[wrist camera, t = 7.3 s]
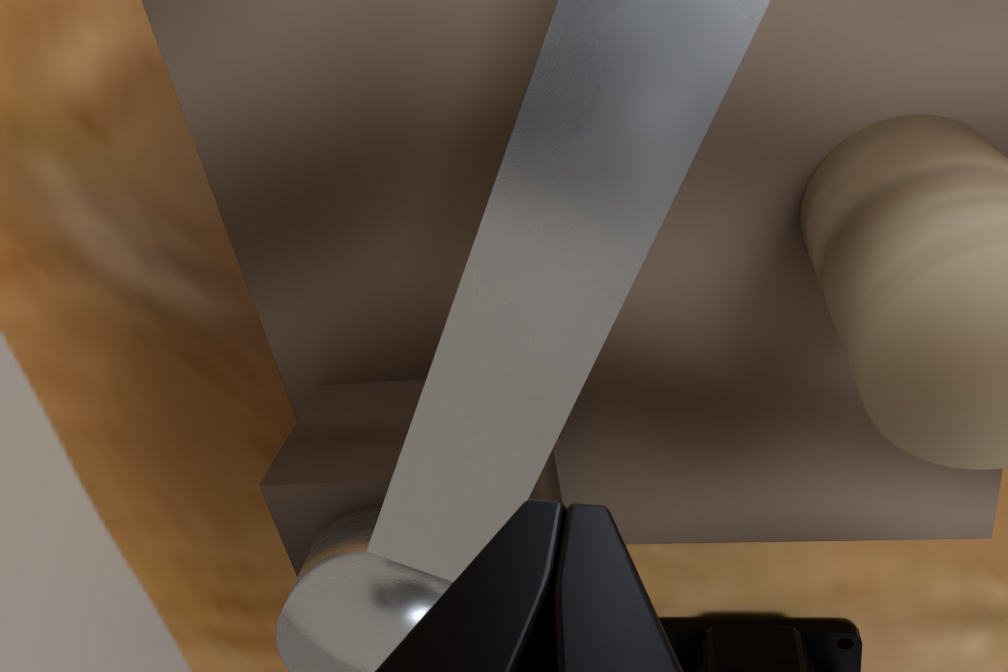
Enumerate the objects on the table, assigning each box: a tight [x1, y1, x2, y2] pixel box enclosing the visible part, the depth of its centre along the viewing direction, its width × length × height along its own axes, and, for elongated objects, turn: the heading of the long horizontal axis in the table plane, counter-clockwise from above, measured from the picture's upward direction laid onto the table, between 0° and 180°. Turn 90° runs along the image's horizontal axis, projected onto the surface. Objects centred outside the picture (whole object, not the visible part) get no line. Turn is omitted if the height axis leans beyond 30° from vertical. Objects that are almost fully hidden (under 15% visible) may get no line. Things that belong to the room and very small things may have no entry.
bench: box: [142, 0, 1008, 577], centre depth 17 cm, size 22×18×6 cm
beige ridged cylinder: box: [800, 114, 1008, 470], centre depth 15 cm, size 4×4×6 cm
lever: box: [276, 0, 771, 672], centre depth 12 cm, size 23×5×6 cm, turn 162°
